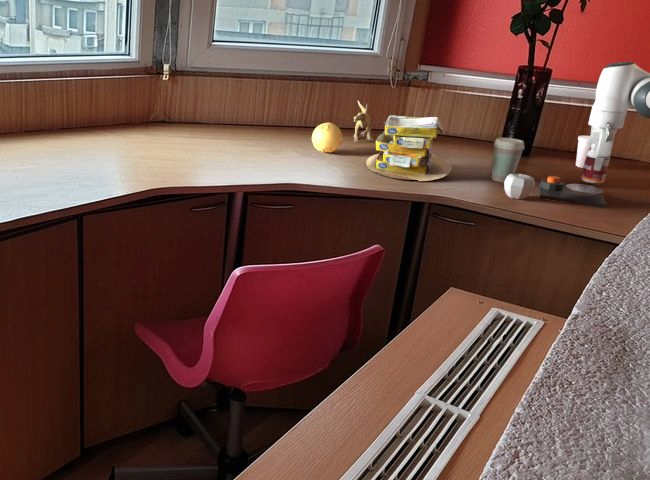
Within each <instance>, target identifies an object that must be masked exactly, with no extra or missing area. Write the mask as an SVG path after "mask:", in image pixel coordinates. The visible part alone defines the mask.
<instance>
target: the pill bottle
mask: <svg viewBox="0 0 650 480" xmlns="http://www.w3.org/2000/svg"><path fill="white" fill-rule="evenodd" d="M593 148H594V143H592V146H591V150H590V151H588V152H587V155H586V159H585V163H584V167H583V168H582V172H581V176H580V180H581V181H582V182H585V183H590V184H603V183H604V182H605V180H606V177H607V172H608V168H609V164H610V160H611V156H610V157H609V158H605V159H604V161H603V164H602V166H601V170H599V171H598V170H594V168H593V167H594V163H595V160H596V156H595V154H594V152H593Z"/></svg>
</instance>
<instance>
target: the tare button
mask: <svg viewBox="0 0 650 480" xmlns="http://www.w3.org/2000/svg"><path fill="white" fill-rule="evenodd" d="M546 179H547V182H549V183H554V184H558V183H559V181H560V176H556V175H548V176H547V178H546Z"/></svg>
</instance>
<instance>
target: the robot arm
mask: <svg viewBox="0 0 650 480" xmlns="http://www.w3.org/2000/svg"><path fill="white" fill-rule="evenodd" d="M628 109H635V111H636V113H637V114H639V115H640V116H641V117H644V118H645V119H650V72H648V71H646V70H645V69H643V68H641V67H640V66H639V65H637V63H635V62H633V61H618V62H617V61H616V62H612V63H609V64H607V65H606V66H604V68H603V69H602V71H601V72H600V75H599V77H598V81H597V85H596V88H595V99H594V103H593V105H592V106H591V111H590V115H589V119H588V122H587V123H588V126H591V127H590V128H591V129H590V135H589V136H590V145H591V146H592V143H594V148H593V152H594V154H595V156H596V160H595V163H594V167H593V168H594V170H598V171H599V170H601V166H602V164H603V161H604V159H605V158H609V157H610V158H611V155H612V151H613V146H614V142H615V138H616V137H615V136H616V134H617V132H618V130H619V129H624V124H625V120H626V117H627V113H628Z"/></svg>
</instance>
